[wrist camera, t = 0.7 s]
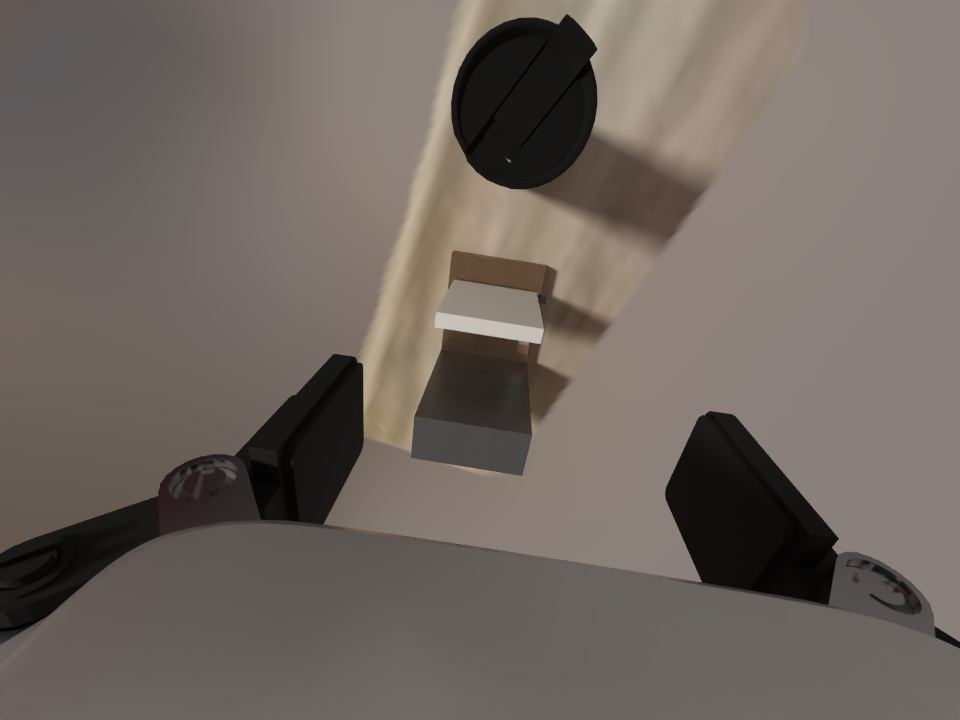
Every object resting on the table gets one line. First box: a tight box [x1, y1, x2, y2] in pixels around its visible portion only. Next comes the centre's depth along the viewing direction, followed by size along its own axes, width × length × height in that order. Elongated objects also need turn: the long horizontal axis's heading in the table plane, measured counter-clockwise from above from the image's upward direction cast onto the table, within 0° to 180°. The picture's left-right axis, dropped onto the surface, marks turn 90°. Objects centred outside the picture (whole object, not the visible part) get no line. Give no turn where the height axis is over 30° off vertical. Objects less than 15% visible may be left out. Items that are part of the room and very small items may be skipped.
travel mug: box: [451, 14, 597, 189], centre depth 25 cm, size 6×7×20 cm
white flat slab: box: [435, 279, 546, 344], centre depth 34 cm, size 1×9×10 cm, turn 82°
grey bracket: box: [411, 251, 547, 476], centre depth 35 cm, size 14×9×14 cm, turn 172°
